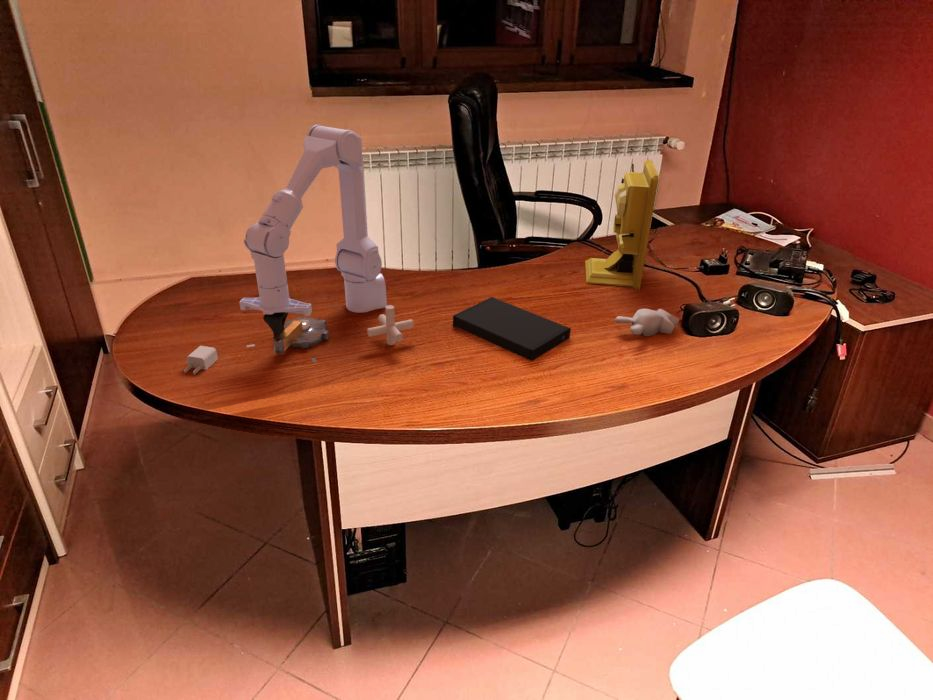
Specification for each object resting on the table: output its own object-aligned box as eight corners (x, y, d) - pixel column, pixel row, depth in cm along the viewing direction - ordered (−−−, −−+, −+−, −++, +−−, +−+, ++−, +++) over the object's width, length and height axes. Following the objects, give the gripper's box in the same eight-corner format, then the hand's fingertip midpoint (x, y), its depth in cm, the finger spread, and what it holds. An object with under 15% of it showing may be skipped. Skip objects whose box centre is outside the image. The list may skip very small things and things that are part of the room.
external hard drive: (492, 307, 161) (492, 296, 159) (569, 339, 147) (571, 327, 146) (452, 326, 151) (453, 315, 150) (531, 362, 138) (532, 350, 137)
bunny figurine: (689, 318, 149) (640, 324, 142) (683, 337, 151) (635, 345, 144) (660, 301, 156) (613, 307, 149) (655, 320, 158) (608, 327, 151)
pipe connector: (378, 363, 136) (375, 321, 131) (361, 342, 143) (359, 301, 138) (421, 353, 140) (421, 312, 135) (403, 333, 147) (402, 293, 142)
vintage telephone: (584, 250, 195) (596, 148, 179) (631, 253, 193) (648, 151, 178) (586, 294, 168) (601, 179, 153) (641, 298, 166) (661, 182, 151)
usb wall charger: (219, 364, 134) (215, 347, 132) (199, 382, 128) (196, 365, 126) (201, 361, 135) (198, 345, 133) (182, 379, 129) (177, 362, 127)
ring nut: (290, 321, 148) (287, 304, 146) (337, 328, 146) (336, 310, 144) (252, 358, 134) (249, 339, 132) (304, 366, 132) (302, 347, 130)
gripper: (228, 288, 126) (239, 348, 133) (300, 294, 125) (307, 354, 132) (244, 273, 132) (253, 331, 139) (312, 279, 131) (318, 338, 138)
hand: (280, 342), depth 136 cm, fingers closed, pressing on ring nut
